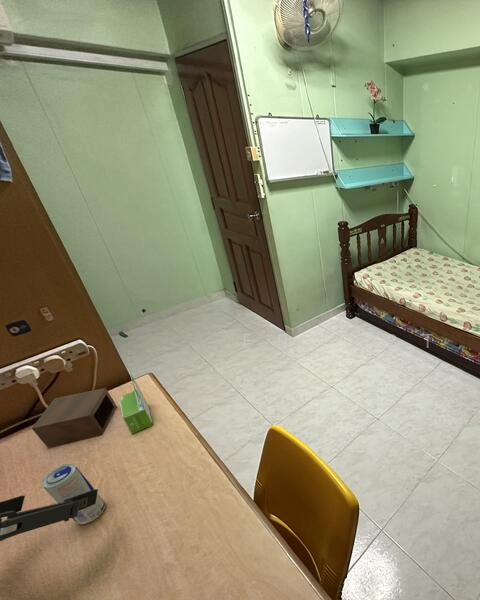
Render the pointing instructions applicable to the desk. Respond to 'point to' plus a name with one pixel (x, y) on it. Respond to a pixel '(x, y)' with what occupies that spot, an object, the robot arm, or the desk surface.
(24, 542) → the desk surface
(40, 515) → the robot arm
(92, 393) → the walnut shelf
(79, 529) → the desk surface
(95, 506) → the beverage can
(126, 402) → the ink box
